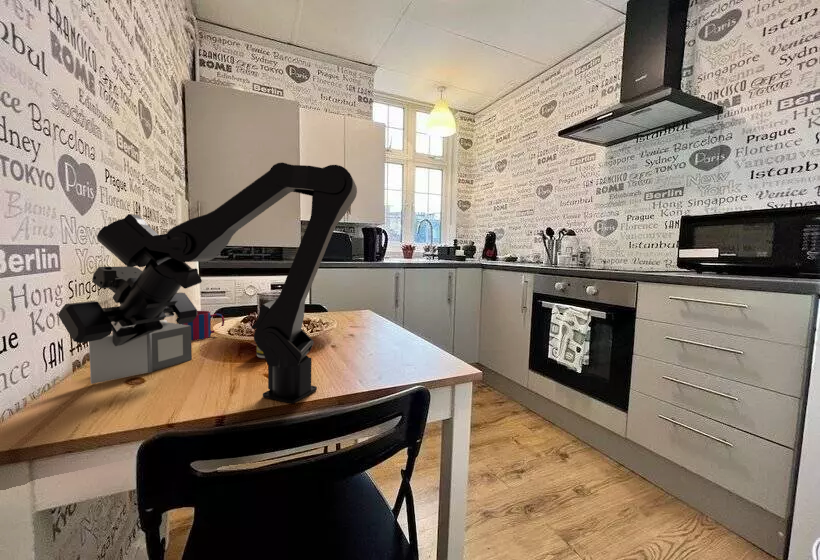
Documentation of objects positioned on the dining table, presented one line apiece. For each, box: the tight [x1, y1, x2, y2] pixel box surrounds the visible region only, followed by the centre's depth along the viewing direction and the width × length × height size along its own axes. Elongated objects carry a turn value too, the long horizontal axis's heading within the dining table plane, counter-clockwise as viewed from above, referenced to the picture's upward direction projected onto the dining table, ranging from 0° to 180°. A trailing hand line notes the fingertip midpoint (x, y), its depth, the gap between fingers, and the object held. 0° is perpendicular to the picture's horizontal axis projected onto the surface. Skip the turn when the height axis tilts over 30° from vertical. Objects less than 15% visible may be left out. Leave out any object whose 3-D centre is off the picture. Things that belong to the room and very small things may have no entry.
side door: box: [88, 333, 153, 385], centre depth 62 cm, size 9×1×8 cm, turn 140°
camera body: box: [151, 319, 193, 372], centre depth 71 cm, size 8×9×8 cm
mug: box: [182, 310, 225, 341], centre depth 93 cm, size 7×10×7 cm
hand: (116, 343), depth 61 cm, fingers closed
